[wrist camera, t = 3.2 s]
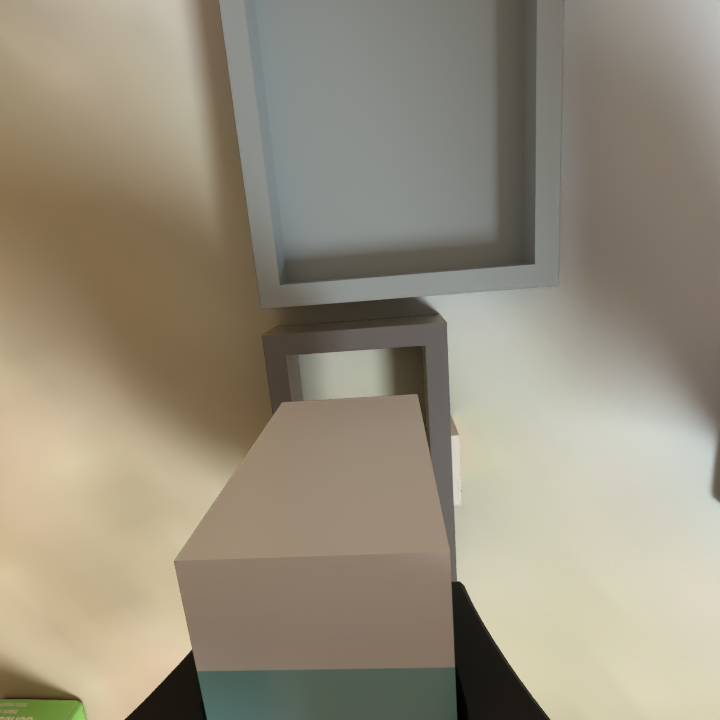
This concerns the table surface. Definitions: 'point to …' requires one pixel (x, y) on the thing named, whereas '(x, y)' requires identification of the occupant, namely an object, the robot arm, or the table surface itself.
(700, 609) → the table surface
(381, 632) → the beige teal carton
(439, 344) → the frame
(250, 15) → the tray
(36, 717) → the ink box
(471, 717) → the robot arm
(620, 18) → the table surface
